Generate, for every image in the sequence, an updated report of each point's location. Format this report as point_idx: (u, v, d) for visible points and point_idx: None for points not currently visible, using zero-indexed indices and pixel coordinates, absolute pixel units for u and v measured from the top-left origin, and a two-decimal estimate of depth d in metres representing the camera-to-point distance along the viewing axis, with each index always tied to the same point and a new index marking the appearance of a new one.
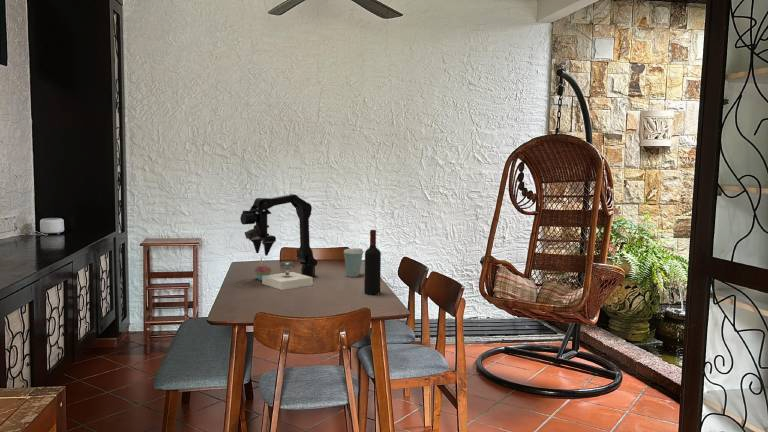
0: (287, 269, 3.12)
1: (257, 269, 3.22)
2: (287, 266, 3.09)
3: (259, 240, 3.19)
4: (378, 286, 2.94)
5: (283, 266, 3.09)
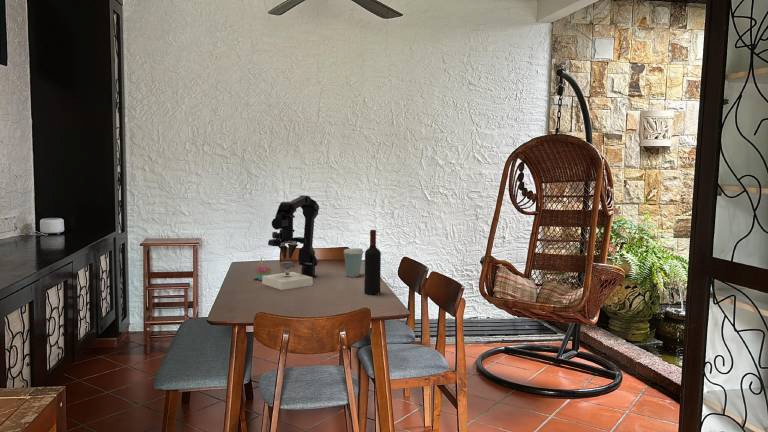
0: (287, 269, 3.12)
1: (257, 269, 3.22)
2: (287, 266, 3.09)
3: (292, 246, 3.12)
4: (378, 286, 2.94)
5: (283, 266, 3.09)
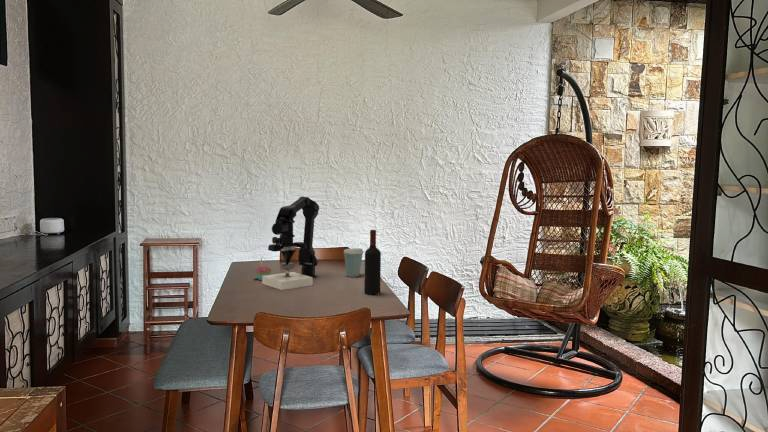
0: (287, 270, 3.12)
1: (257, 269, 3.22)
2: (287, 267, 3.09)
3: (290, 251, 3.11)
4: (378, 286, 2.94)
5: (283, 267, 3.09)
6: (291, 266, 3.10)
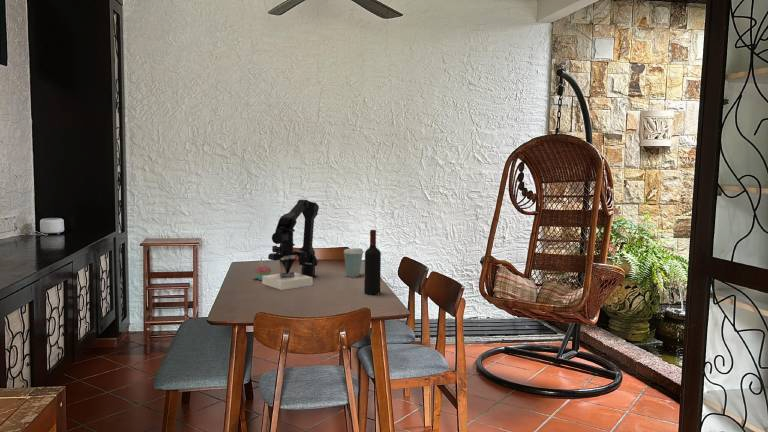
0: None
1: (257, 269, 3.22)
2: (287, 276, 3.10)
3: (290, 260, 3.12)
4: (378, 286, 2.94)
5: (283, 276, 3.10)
6: (291, 275, 3.11)
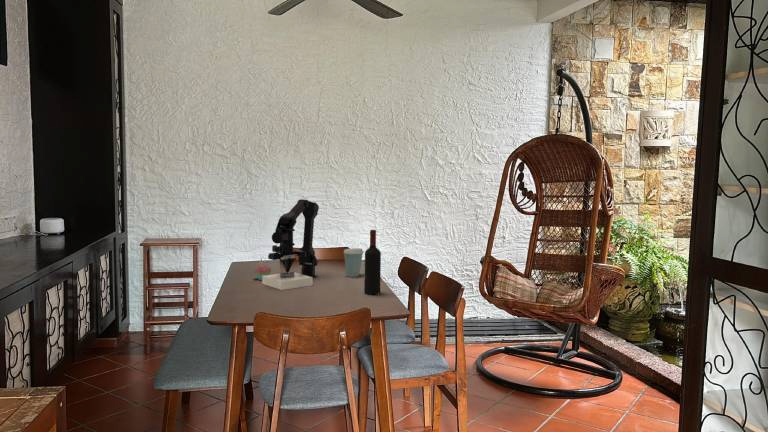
0: None
1: (257, 269, 3.22)
2: (287, 276, 3.10)
3: (290, 260, 3.12)
4: (378, 286, 2.94)
5: (283, 276, 3.10)
6: (291, 275, 3.11)
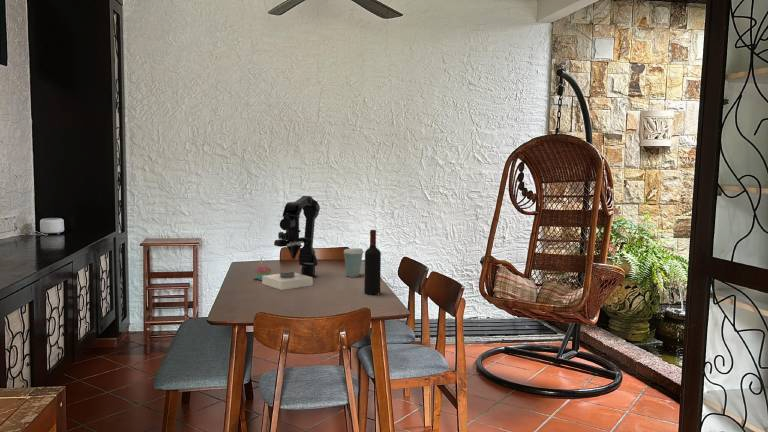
0: None
1: (257, 269, 3.22)
2: (287, 276, 3.10)
3: (296, 246, 3.12)
4: (378, 286, 2.94)
5: (283, 276, 3.10)
6: (291, 275, 3.11)
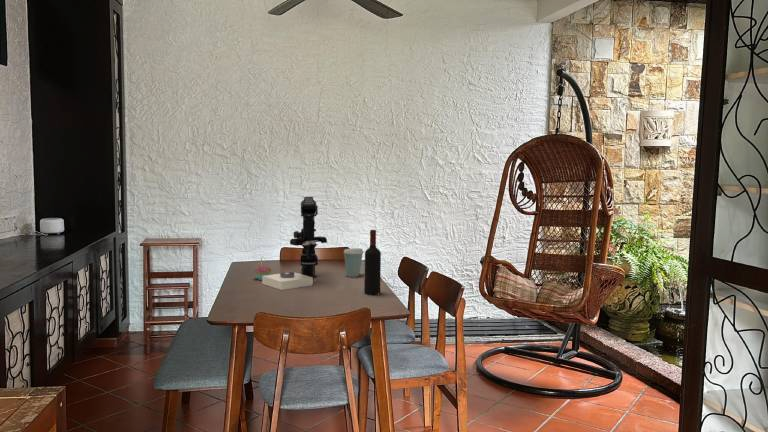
0: None
1: (257, 269, 3.22)
2: (287, 276, 3.10)
3: (311, 245, 3.14)
4: (378, 286, 2.94)
5: (283, 276, 3.10)
6: (291, 275, 3.11)
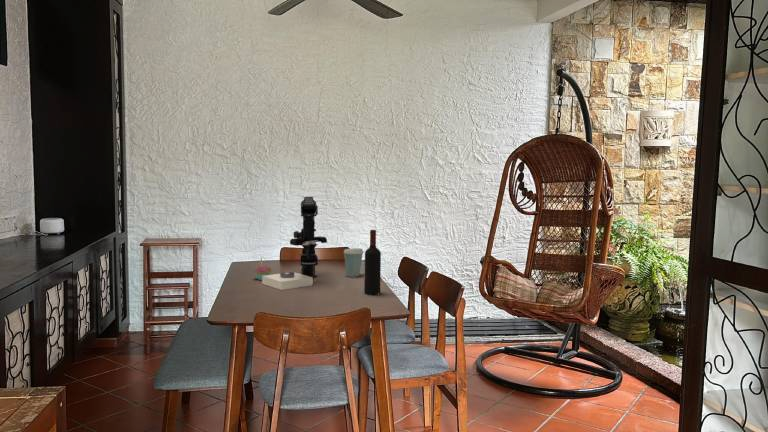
0: None
1: (257, 269, 3.22)
2: (287, 276, 3.10)
3: (311, 245, 3.14)
4: (378, 286, 2.94)
5: (283, 276, 3.10)
6: (291, 275, 3.11)
